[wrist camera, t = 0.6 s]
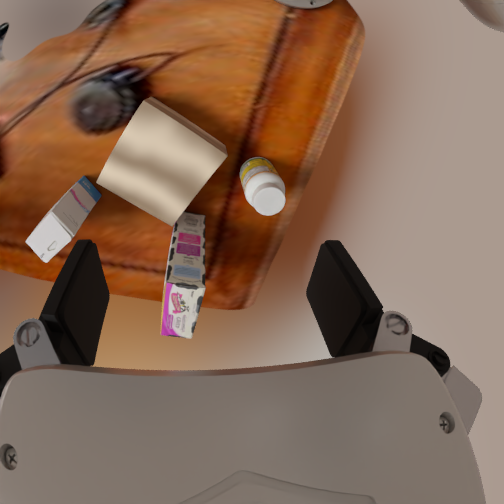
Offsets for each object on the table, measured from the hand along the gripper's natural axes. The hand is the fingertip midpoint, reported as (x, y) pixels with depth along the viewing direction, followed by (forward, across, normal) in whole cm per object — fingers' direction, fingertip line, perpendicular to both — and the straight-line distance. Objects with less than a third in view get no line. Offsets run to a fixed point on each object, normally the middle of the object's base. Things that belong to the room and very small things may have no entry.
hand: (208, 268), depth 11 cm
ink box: (+31, +21, +11) cm, 39 cm away
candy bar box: (+31, +3, +19) cm, 37 cm away
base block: (+30, +6, +4) cm, 31 cm away
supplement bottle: (+31, -8, +7) cm, 32 cm away
